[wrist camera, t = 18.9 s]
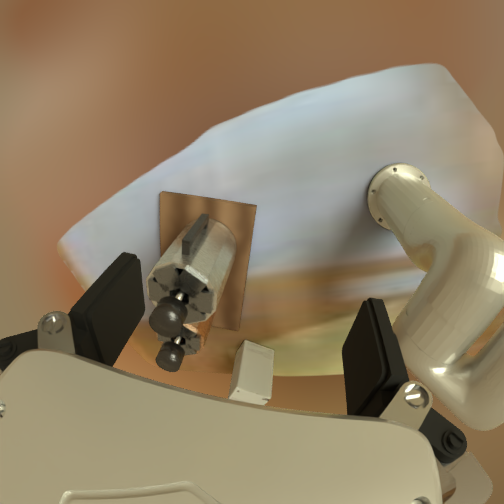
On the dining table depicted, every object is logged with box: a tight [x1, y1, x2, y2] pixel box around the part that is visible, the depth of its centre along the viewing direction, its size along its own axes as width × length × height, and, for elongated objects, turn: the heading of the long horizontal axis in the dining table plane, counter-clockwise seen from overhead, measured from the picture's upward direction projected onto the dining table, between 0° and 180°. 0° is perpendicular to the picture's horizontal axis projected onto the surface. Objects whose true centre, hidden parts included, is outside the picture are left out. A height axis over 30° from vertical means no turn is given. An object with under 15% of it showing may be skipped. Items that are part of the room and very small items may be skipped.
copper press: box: [156, 309, 217, 355], centre depth 58 cm, size 10×12×13 cm
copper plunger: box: [156, 334, 185, 372], centre depth 53 cm, size 6×6×15 cm
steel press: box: [146, 213, 237, 324], centre depth 48 cm, size 11×13×17 cm
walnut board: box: [160, 191, 257, 331], centre depth 60 cm, size 18×30×1 cm, turn 173°
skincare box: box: [228, 340, 274, 405], centre depth 64 cm, size 8×6×15 cm
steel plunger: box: [149, 289, 188, 338], centre depth 44 cm, size 8×8×19 cm
